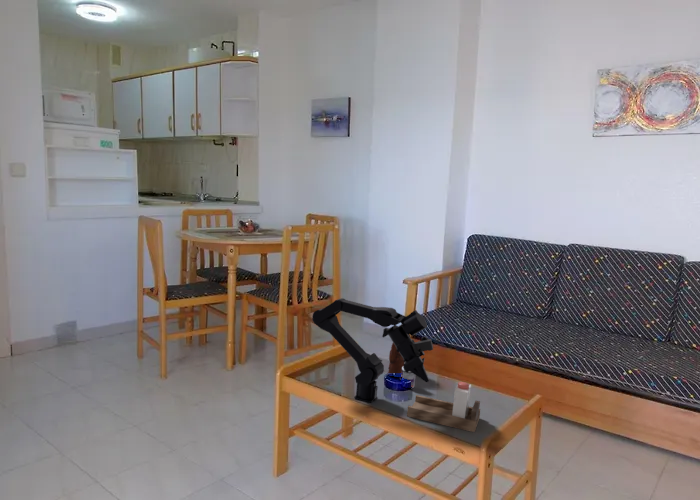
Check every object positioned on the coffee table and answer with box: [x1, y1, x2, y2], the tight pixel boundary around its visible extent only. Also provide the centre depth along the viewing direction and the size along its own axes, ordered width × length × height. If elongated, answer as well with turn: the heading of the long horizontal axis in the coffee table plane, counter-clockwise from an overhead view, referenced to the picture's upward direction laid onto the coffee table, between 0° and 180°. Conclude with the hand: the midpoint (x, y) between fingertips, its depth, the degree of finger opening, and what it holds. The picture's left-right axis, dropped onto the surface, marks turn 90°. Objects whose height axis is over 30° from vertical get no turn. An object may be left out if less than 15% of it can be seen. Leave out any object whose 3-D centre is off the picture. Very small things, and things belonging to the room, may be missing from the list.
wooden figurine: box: [387, 334, 412, 374], centre depth 207 cm, size 12×6×18 cm, turn 151°
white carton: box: [452, 381, 472, 419], centre depth 167 cm, size 4×8×11 cm, turn 158°
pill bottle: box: [400, 362, 417, 389], centre depth 195 cm, size 5×5×10 cm
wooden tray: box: [406, 394, 481, 433], centre depth 169 cm, size 22×12×6 cm, turn 69°
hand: (427, 381), depth 171 cm, fingers closed
